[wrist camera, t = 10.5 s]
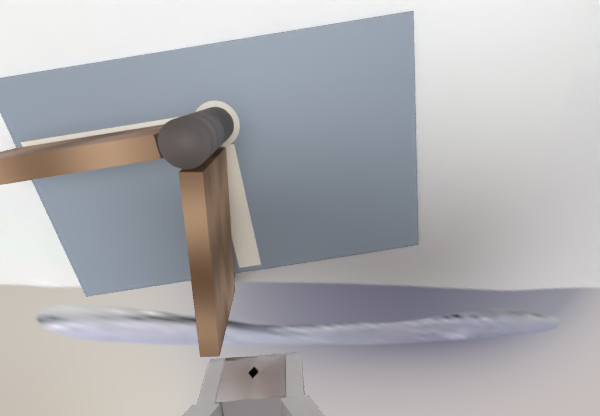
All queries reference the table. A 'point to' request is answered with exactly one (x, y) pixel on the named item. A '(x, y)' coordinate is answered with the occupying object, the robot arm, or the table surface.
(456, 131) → the table surface
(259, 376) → the robot arm
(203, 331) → the swing panel
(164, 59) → the card
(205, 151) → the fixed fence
